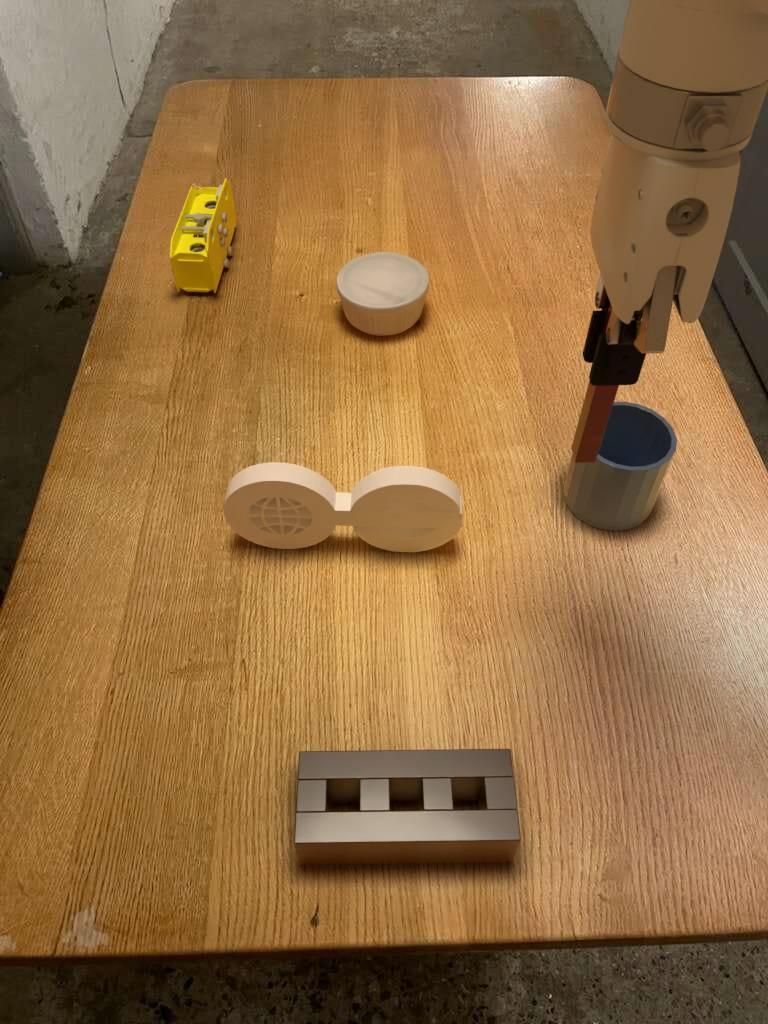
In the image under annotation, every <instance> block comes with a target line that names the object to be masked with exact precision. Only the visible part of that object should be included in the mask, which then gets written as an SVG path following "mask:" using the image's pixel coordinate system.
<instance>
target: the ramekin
mask: <svg viewBox="0 0 768 1024" xmlns="http://www.w3.org/2000/svg"><path fill="white" fill-rule="evenodd" d="M335 286H336V287H335V288H336V292H337V295H338V297H339V299H340V302H341V307H342V309H343V313H344V316H345V318H346V320H347V321H348V322H349V324H350V325H351V326H353V327H354V328H355V329H357V330H358V331H360V332H362V333H363V334H368V335H372V336H377V337H386V336H387V337H388V336H394V335H398V334H401V333H403V332H406V331H407V330H409V329H411V327H413V326H414V325H415V324H416V323H417V322H418V321H419V319H420V317H421V315H422V313H423V309H424V305H425V300H426V296H427V294H428V292H429V288H430V276H429V272H428V271H427V269H426V267H425V266H424V265H423V264H422V263H420V261H418V260H416V259H414V258H413V257H410V256H409V255H408V256H407V255H405V254H403V253H397V252H392V251H376V252H375V251H374V252H371V253H365V254H362V255H358V256H357V257H354V258H353V259H351V260H350V261H348V262H347V263H345V264H344V265H343V266H342V267H341V268H340V270H339V271H338V272H337V275H336V279H335Z"/></svg>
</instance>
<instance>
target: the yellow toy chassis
mask: <svg viewBox="0 0 768 1024" xmlns="http://www.w3.org/2000/svg"><path fill="white" fill-rule="evenodd" d="M235 205H236V204H235V200H234V194H233V187H232V182H231V180H230V179H228V178H227V177H225V178H224V180H223V183H222V184H218V187H209V186H208V187H207V186H202V187H201V188H199V189H198V188H197V187H196V186H192V185H191V186H190V188H189V190H188V193H187V196H186V199H185V201H184V204H183V207H182V209H181V212H180V213H179V217H178V220H177V222H176V225H175V228H174V231H173V233H172V235H171V238H170V248H169V262H170V265H171V272H172V276H173V279H174V284H175V287H176V292H180V290H183V291H185V292H188V293H189V292H190V293H193V292H194V293H209V292H212V291H213V293H214V294H216V293H217V290H218V288H219V287H218V286H219V283H220V280H221V277H222V273H223V270H224V268H225V269H229V267H230V260H229V258H227V257H230V256H233V247H232V246H231V243H232V240H233V237H234V233H235V230H236V228H237V227H236V226H237V223H238V221H237V215H236V206H235ZM236 221H237V222H236ZM203 222H204V223H203ZM234 228H235V229H234ZM197 235H198V236H199V238H198V237H197Z"/></svg>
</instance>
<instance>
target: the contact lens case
mask: <svg viewBox="0 0 768 1024" xmlns="http://www.w3.org/2000/svg"><path fill="white" fill-rule="evenodd" d="M223 503H224V504H223V515H224V520H225V522H226V523H227V525H228V526H229V527H230V528H231V529H232V530H233V532H235V533H236V534H237V535H239V536H240V537H241V538H243V539H245V540H247V541H249V542H251V543H252V544H253V543H254V544H256V545H260V546H262V547H265V548H270V549H271V548H272V549H278V550H296V549H303V548H304V549H305V548H308V547H312V546H315V545H317V544H319V543H321V542H323V541H325V540H327V538H328V537H330V536H331V534H333V532H334V531H335V529H336V527H337V526H341V527H353V531H352V532H353V533H354V534H355V535H357V536H358V538H359V539H361V540H362V541H364V542H365V543H367V544H369V545H371V546H373V547H375V548H378V549H382V550H385V551H389V552H395V553H419V552H426V551H429V550H433V549H436V548H439V547H441V546H443V545H445V544H447V543H449V542H450V541H451V540H452V539H454V538H455V537H456V536H457V535H458V534H459V532H460V531H461V529H462V526H463V517H464V515H463V514H464V513H463V496H462V495H461V490H460V488H459V487H458V486H457V485H456V483H455V482H454V481H452V479H450V478H449V477H447V476H446V475H444V474H443V473H441V472H439V471H436V470H434V469H431V468H427V467H423V466H417V465H393V466H387V467H383V468H379V469H377V470H375V471H372V472H370V473H369V474H367V475H365V476H364V477H362V478H361V479H360V480H359V481H358V482H357V483H356V484H355V485H354V486H353V489H352V490H351V492H346V491H345V492H343V491H342V492H341V491H337V490H336V489H335V486H333V484H332V483H331V482H330V481H329V480H328V479H327V478H325V477H324V476H323V475H321V473H318V472H317V471H315V470H313V469H310V468H309V467H305V466H302V465H299V464H295V463H290V462H281V461H279V462H278V461H276V462H275V461H273V462H272V461H268V462H263V463H261V462H260V463H256V464H253V465H250V466H247V467H245V468H244V469H242V470H240V471H239V472H237V473H236V474H235V475H234V476H232V478H231V479H230V480H229V483H228V485H227V489H226V493H225V499H224V502H223Z"/></svg>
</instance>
